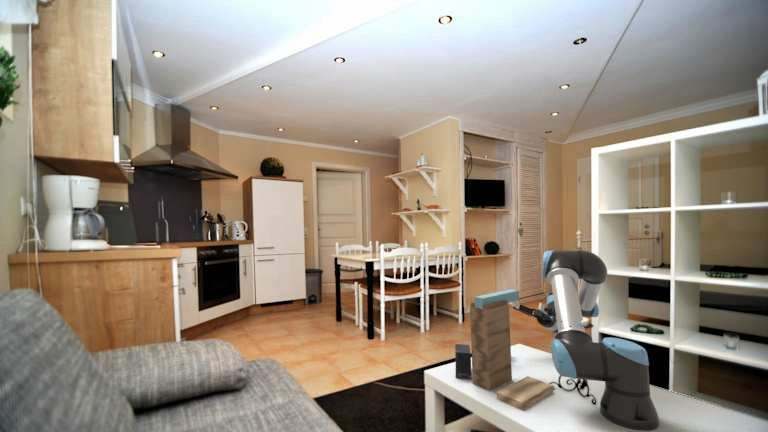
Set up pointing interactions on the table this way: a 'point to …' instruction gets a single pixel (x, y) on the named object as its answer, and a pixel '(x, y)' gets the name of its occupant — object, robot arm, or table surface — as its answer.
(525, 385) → the oak board
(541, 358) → the table surface
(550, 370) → the table surface
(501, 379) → the stand
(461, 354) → the small box
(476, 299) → the rod
